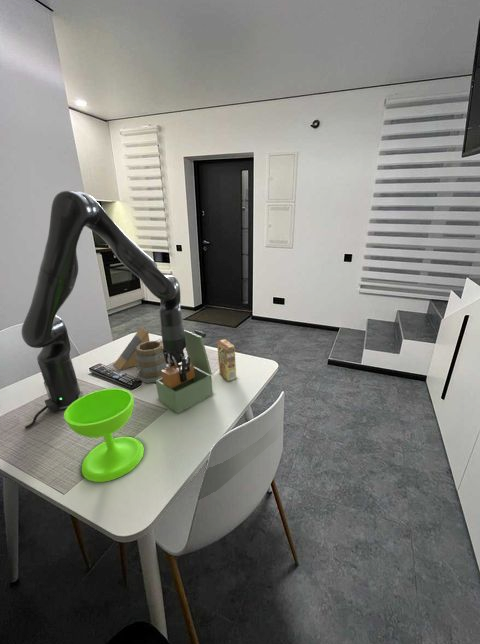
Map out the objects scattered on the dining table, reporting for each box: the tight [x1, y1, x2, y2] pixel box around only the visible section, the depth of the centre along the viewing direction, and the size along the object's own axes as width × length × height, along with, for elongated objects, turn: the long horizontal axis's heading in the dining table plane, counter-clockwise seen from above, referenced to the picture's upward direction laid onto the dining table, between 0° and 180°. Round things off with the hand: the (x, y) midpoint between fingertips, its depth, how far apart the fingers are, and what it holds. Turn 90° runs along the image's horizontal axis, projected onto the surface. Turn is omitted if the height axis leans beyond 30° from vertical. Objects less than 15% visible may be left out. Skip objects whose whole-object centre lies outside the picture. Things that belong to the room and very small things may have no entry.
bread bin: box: [155, 367, 214, 414], centre depth 107 cm, size 16×13×8 cm
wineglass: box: [63, 387, 145, 483], centre depth 78 cm, size 16×16×18 cm
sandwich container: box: [113, 326, 151, 371], centre depth 132 cm, size 9×15×15 cm, turn 132°
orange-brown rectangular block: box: [161, 363, 195, 388], centre depth 103 cm, size 10×6×5 cm, turn 138°
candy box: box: [216, 338, 237, 382], centre depth 120 cm, size 9×4×15 cm, turn 33°
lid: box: [184, 328, 213, 376], centre depth 108 cm, size 16×13×5 cm
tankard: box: [135, 340, 169, 384], centre depth 124 cm, size 20×13×15 cm, turn 148°
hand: (178, 378), depth 104 cm, fingers closed on orange-brown rectangular block, 5 cm apart
